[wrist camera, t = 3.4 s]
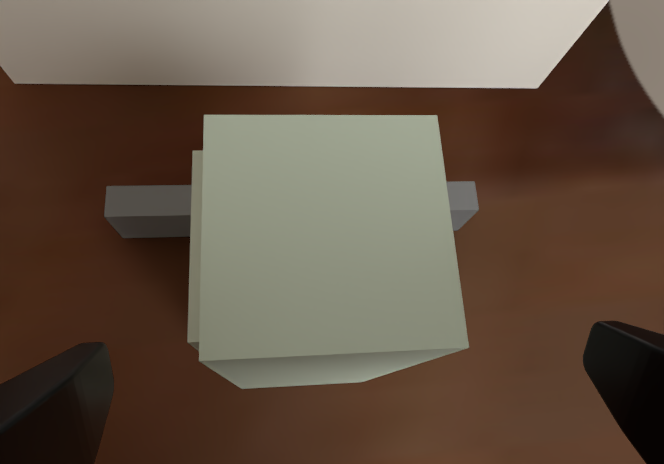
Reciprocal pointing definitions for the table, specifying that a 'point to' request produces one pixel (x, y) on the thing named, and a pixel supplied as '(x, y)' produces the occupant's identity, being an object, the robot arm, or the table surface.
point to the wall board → (283, 58)
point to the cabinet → (321, 249)
